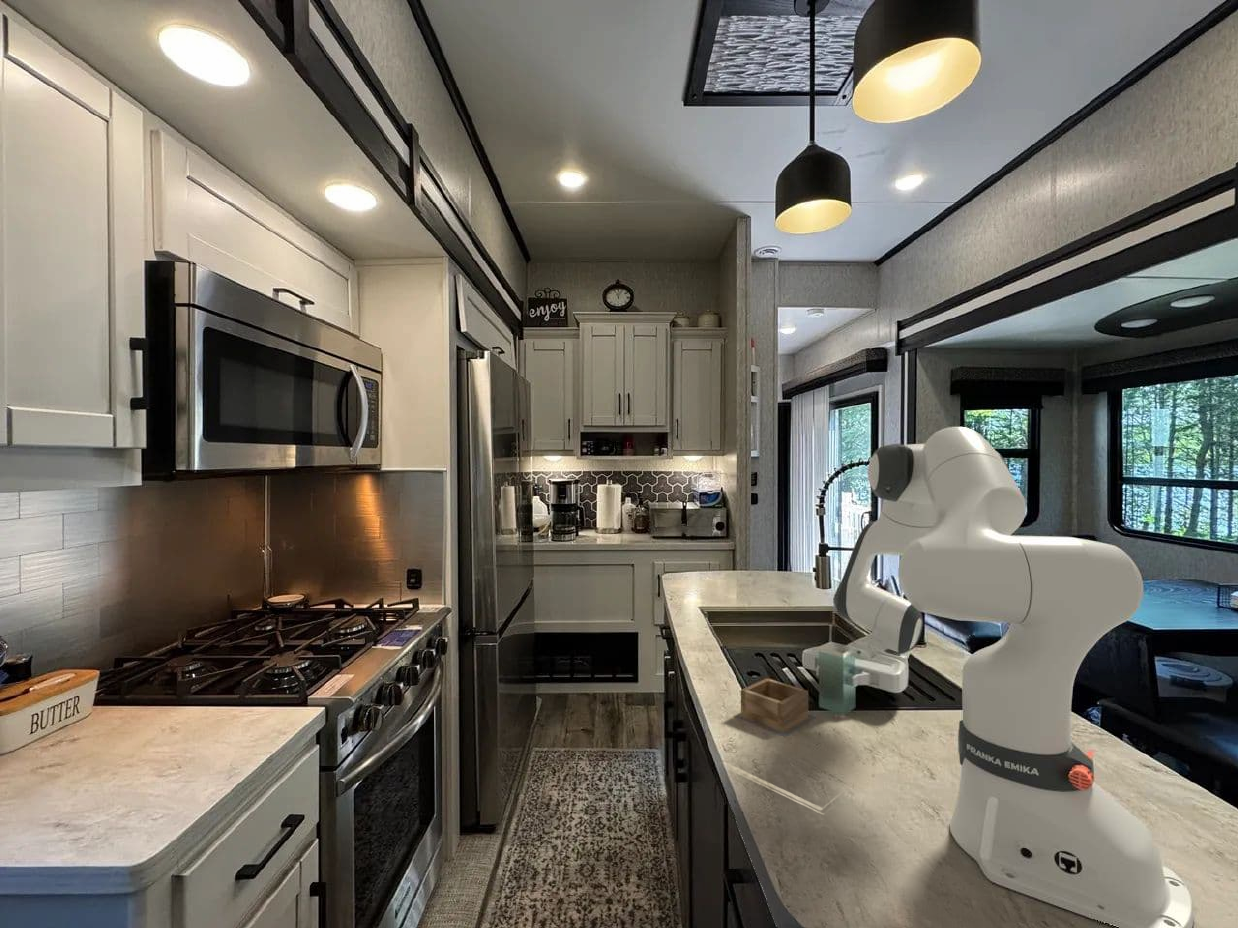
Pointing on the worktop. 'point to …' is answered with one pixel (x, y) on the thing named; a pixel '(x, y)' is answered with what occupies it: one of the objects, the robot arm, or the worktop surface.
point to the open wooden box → (774, 704)
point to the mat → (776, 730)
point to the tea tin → (836, 677)
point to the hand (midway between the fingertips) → (834, 677)
